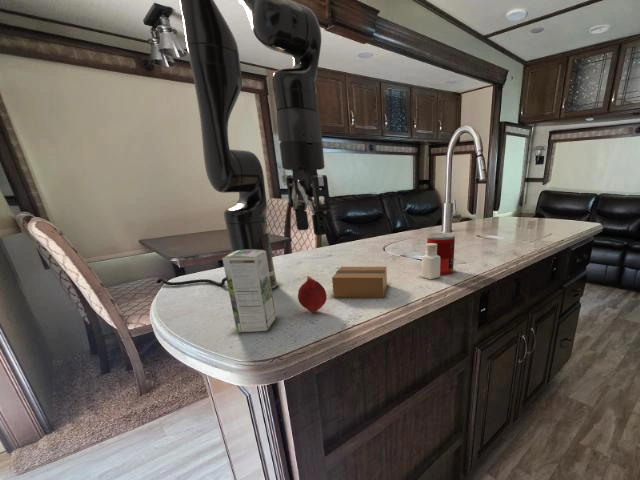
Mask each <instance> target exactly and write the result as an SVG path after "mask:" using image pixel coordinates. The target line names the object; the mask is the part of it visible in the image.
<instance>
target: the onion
mask: <svg viewBox="0 0 640 480" xmlns="http://www.w3.org/2000/svg"><path fill="white" fill-rule="evenodd" d="M327 298H328V295H327V291H326V290H325V288H324V286H323V285H322V284H321V283H320V282H319V281H317V280H315V279H314V278H312V277H311V276H310V275H307V277H306V280H305V281H304V282H303V283H302V284H301V285H300V287H299V288H298V293H297V300H298V303H299V304H300V305H301V307H303V308H304V309H306V310H307V311H308V312H311V313H316V312H318V311H319V310H320V309H322V308H323V307H324V305H325V304H326V302H327V300H328V299H327Z"/></svg>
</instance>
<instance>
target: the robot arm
mask: <svg viewBox="0 0 640 480" xmlns="http://www.w3.org/2000/svg"><path fill="white" fill-rule="evenodd" d="M237 1H238V3H239V4H240V5H241V6H242V7H243V9H244V10H245V11H246V14H247V18H248V20H249V22H250V26H251V29H252V32H253V35H254V36H255V38H256V40H258V41H259V42H260V43H261V44H262V45H263V46H264V47H265V48H268V49H269V50H271V51H274V52H277V53H282V54H284V55H288V56H291V57H292V59H293V63H292V67H287V68H286V67H285V68H279V69H277V70H276V71H274V73H273V75H272V78H271V79H272V81H271V82H272V90H273V97H274V105H275V110H276V131H277V138H278V145H279V152H280V160H281V166H282V169H283V170H285V171H286V170H287V171H291V172H292V176H291V175H290V176H289V175H288V176H286V187H287V196H288V197H287V198H288V205H289V207H290V208H292V210H293V212H294V213H295V214H294V215H295V222H296V229H297V230H298V231H307V230H309V228H310V226H309V218H308V211H307V208H308V207H309V210H310V212H311V219H312V227H313V228H312V229H313V234H314V235H315V236H324V235H326V234H327V223H326V216H325V215H326V214H327V213H328V212H329V211H331V209H332V207H331V199H330V191H329V183H328V177H327V175H326V174H319V173H318V171H319V170H323V169H325V155H324V146H323V145H324V144H323V134H322V126H321V121H320V117H319V108H318V97H317V78H318V70H319V64H320V63H319V61H320V55H321V49H322V30H321V27H320V23H319V20H318V18H317V16H316V15H315V13H314V12H313V11H312V9H311V8H309V7H308V6H306V5H304V4H301V3H300V2H297V1H294V0H237ZM179 5H180V10H181V15H182V22H183V28H184V35H185V42H186V48H187V54H188V59H189V60H188V61H189V64H190V71H191V75H192V78H193V84H194V90H195V94H196V100H197V101H196V102H197V108H198V114H199V120H200V130H201V131H200V132H201V142H202V151H203V152H202V153H203V161H204V168H205V172H206V176H207V180H208V181H209V183H210V185H211V187H212V188H213V189H214V190H215V191H217V192H218V193H221V194H228V193H229V194H230V193H231V194H232V193H233V194H235V193H238V199H237V201H236V202H235V203H234V204H233V205H232V206H230V207H228V208H225V210H224V211H223V219H224V223H225V228H226V233H227V238H228V242H229V246H230V252H231V253H233V252H235V251H238V250H264V251H266V255H267V262H268V268H269V275H270V281H271V288H272V290H274V289H276V288H277V286H278V282H277V277H276V271H275V266H274V259H273V254H272V252H273V251H272V247H271V241H270V234H269V227H268V222H267V209H268V201H267V194H266V193H267V192H266V185H265V175H264V169H263V167H262V163H261V161H260V159H259V158H258V156H257V155H256V154H255V153H254V152H252V151H250V150H242V149H231V148H230V142H229V122H230V118H231V115H232V112H233V110H234V109H235V106H236V103H237V101H238V99H239V96H240V95H241V91H242V86H243V74H242V67H241V60H240V51H239V47H238V43H237V41H236V38H235V36H234V34H233V31H232V30H231V28H230V26H229V24H228V23H227V21H226V19H225V17H224V16H223V14H222V12H221V11H220V9H219V7H218V5H217V3H216V1H215V0H179ZM226 282H227V279H226V277H223V278H222V279H221V282H217V281H215V280H213V279H209V278H208V279H207V278H201V279H191V280H185V281H168V280H166V279H165V278H164V277H160V278H158V279H157V281H156V284H161V283H163V284H164V285H167V286H184V285H191V284H197V283H209V284H212V285H214V286H217V287H218V286H219V287H223V286H224V285H225V284H226Z"/></svg>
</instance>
